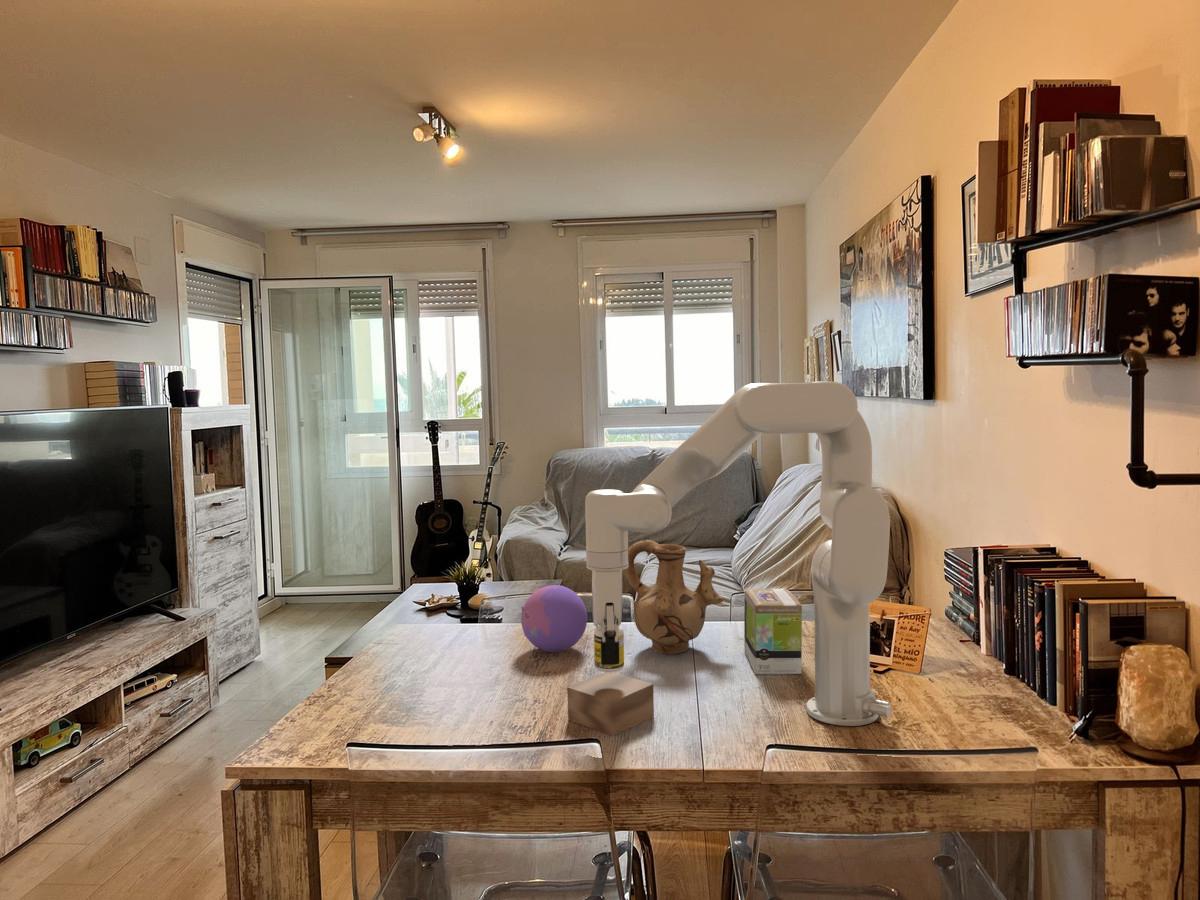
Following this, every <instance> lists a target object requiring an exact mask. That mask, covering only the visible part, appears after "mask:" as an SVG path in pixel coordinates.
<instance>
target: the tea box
mask: <svg viewBox="0 0 1200 900" xmlns="http://www.w3.org/2000/svg"><path fill="white" fill-rule="evenodd" d="M743 603H744V604H743V605H744V609H743V610H744V618H743V619H744V620H743V621H744V623H743V625H744V630H743V631H744V632H743V633H744V640H743V641H744V642H743V643H744V648H743V650H744V653H745V656H746V657H747V661H748V662H749V664H750V666H751V668H752V671H753V672H754V674H755V675H801V674H802V671H803V670H802V669H803V668H802V661H803V660H802V659H803V658H802V657H803V655H802V651H803V648H802V647H803V645H802V643H803V642H802V641H803V638H802V637H803V636H802V635H803V605H802V604H801V602H800V601H799V600H798V599H797V598H796V596H795V595H794V594H792V591H790V590H789V589H788V588H745V589H744V602H743Z"/></svg>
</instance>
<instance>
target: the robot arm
mask: <svg viewBox="0 0 1200 900" xmlns="http://www.w3.org/2000/svg"><path fill="white" fill-rule="evenodd" d="M857 400H858V399H857V398H856V395H855V394H854V392H853V390H851V389H850V388H849V387H848V386H847V385H845V384H843V383H841V382H837V381H823V380H821V381H812V382H796V383H794V382H792V383H790V382H789V383H776V382H775V383H774V382H770V383H769V382H754V383H753V382H751V383H749V384H746V385H744V386H742V387H741V388H739V389H738V390H737V391H735V392H734V393H733V395H732V396H730V397H729V398H728V400H726V401H725V402H724V403H723V404H722V405H721V406H720V407H719V408H718V409H717V410H716V411H715V412H714V413H713V414H712V415H711V416H710V417H709V418H707V420H706V421H705V422H704V423H703V424H702V425H700V427H698V428H697V429H696V430H695V431H694V432H693V433H692V434H690V435H689V437H688V438H687V439H685V440H684V441H683V443H681V444H680V445H679V446H678V447H677V448H676V449H675V450H674V451H673V452H672V453H671V454H670V455H669V456H667V457H666V458H665V459H664V460H663V461H662V462H660V464H659V465H658V466H656V468H654V470H652V471H651V472H650V473H649V474H648V475H647V476H646V477H645V478H644V479H643V480H642V481H641V482H639V484H638V485H637V486H636V487H635V488H634V489H632V492H630V493H625V492H624V491H622V490H619V489H610V488H608V489H596V490H591V491H589V492H588V493H587V495H586V496H585V500H584V507H585V509H584V510H585V511H584V512H585V547H586V549H585V550H586V551H585V553H586V557H585V559H586V569H588V570H590V571H591V573H592V574H591V597H592V599H591V600H592V601H591V603H592V610H591V611H592V622H593V625H594V627H595V628H596V627H598V626H599V625H601V624H602V642H601V663H602V665H612V664H619V641H618V629H617V627H618V626H621V625H622V617H623V616H622V613H623V610H622V609H623V571H624V569H627V568H628V567H629V564H628V549H629V532H634V533H636V532H637V533H643V534H655V533H659V532H661V531H662V530H664V529H665V528H667V526H668V525H669V524H670V521H671V519H672V514H673V513H672V508H674V507H675V505H676V504H677V503H678V502H679V501H680V500H681V499H682V498H683V497H684V496H686V495H687V494H688V493H690V492H691V490H693V489H694V488H696V487H697V486H698V485H699V484H701V483H703V482H705V481H707V480H710V479H713V478H715V477H716V476H718V475H720V474H722V472H724V471H725V470H726V469H727V468H729V466H730V465H732V464H733V462H735V461H736V460H737V458H739V457H740V456H741V455H742V454H743V453H744V452H745V451H746V450H747V449H748V448H749V447H750V446H751V445H753V443H755V441H757V440H758V439H759V438H760V437H761V436H762V435H763V434H767V435H768V434H770V435H771V434H772V435H778V434H779V435H794V434H795V435H798V434H816V436H817V437H818V439H819V443H820V447H821V460H822V461H821V467H822V468H821V481H820V482H821V483H820V484H821V485H820V497H819V509H818V510H819V514H820V517H821V519H822V521H823V523H824V524H825V525H826V526H827V527H828V528H829V529H831V538H830V539H828V540H826V541H824V542H823V543H821V545H819V546H818V548H817V549H816V550H815V552H814V554H813V556H812V560H811V566H810V570H811V571H810V572H811V573H810V574H811V583H812V593H813V604H814V697H811V698H810V699H808V701H806V704H805V706H806V708H805V710H806V713H807V714H808V715H809V716H810V717H811V718H813V719H815V720H817V721H819V722H822V723H826V724H829V725H833V726H843V727H856V726H857V727H858V726H859V727H860V726H864V725H868V724H869V725H870V724H872V723H873V722H875V721H877V720H878V718H879V716H880V717H884V718H887V719H888V718H890V717H891V714H892V707H891V703H890V702H889V701H885V700H879V699H878V698H877V697H876V690H875V689H871V686H870V684H871V683H870V682H871V678H870V677H871V673H870V672H871V670H870V669H871V668H870V667H871V665H870V664H871V661H870V659H871V658H870V656H871V655H870V654H871V651H870V650H871V649H870V648H871V645H870V644H871V643H870V642H871V640H870V639H871V636H870V634H871V633H870V632H871V616H870V615H871V614H870V604H871V603H873V602H875V601H876V599H878V598H879V596H880V595H881V594H882V592H883V591H884V588H885V585H886V582H887V577H888V566H889V553H890V534H891V533H890V532H891V530H890V529H891V515H890V511H889V506H888V504H887V502H886V500H885V498H884V497H883V496H882V494H881V493H880V492H879V491H877V489H875V488H873V484H872V481H873V480H872V479H873V478H872V477H873V446H872V445H873V444H872V438H871V434H870V431H869V428H868V426H867V423H866V421H865V420H864V419H865V418H863V416H862V414H861V412H860V411H859V410H858V408H859V407H858V401H857ZM604 621H607V625H604ZM614 621H615V624H614ZM617 624H618V625H617ZM605 628H607V630H606V631H605Z"/></svg>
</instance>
